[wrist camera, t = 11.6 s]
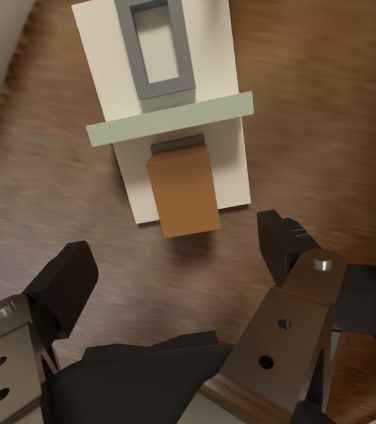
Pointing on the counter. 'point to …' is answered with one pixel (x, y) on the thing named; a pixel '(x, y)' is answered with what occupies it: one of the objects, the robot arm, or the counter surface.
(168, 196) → the orange brown block
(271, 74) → the counter surface
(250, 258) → the counter surface
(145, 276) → the counter surface
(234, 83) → the plate
